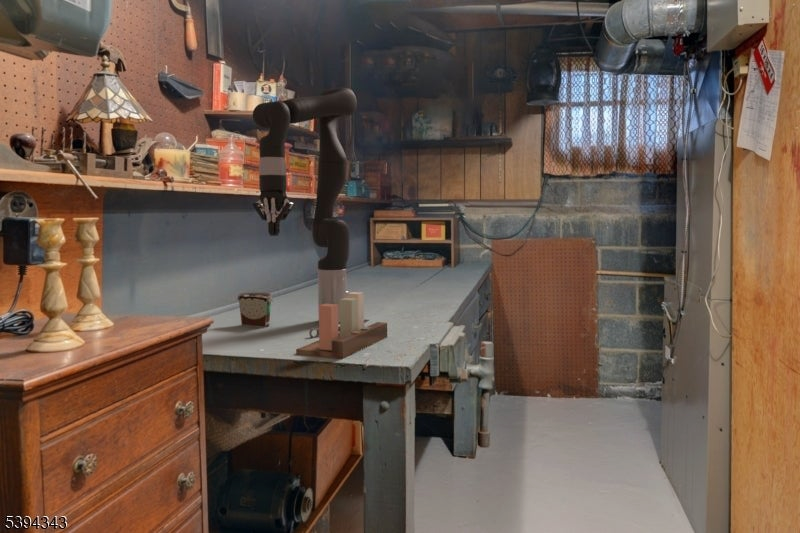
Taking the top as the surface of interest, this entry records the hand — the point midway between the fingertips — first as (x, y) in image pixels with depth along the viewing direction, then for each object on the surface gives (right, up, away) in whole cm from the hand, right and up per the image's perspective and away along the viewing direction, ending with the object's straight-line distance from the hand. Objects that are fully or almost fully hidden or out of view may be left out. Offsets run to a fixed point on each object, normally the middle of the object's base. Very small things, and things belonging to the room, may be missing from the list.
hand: (274, 235), depth 171 cm
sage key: (+22, -28, -10) cm, 38 cm away
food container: (-9, -28, +20) cm, 35 cm away
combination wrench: (+19, -29, +5) cm, 35 cm away
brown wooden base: (+21, -30, -10) cm, 38 cm away
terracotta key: (+18, -29, -20) cm, 40 cm away
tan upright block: (+23, -27, +1) cm, 36 cm away
